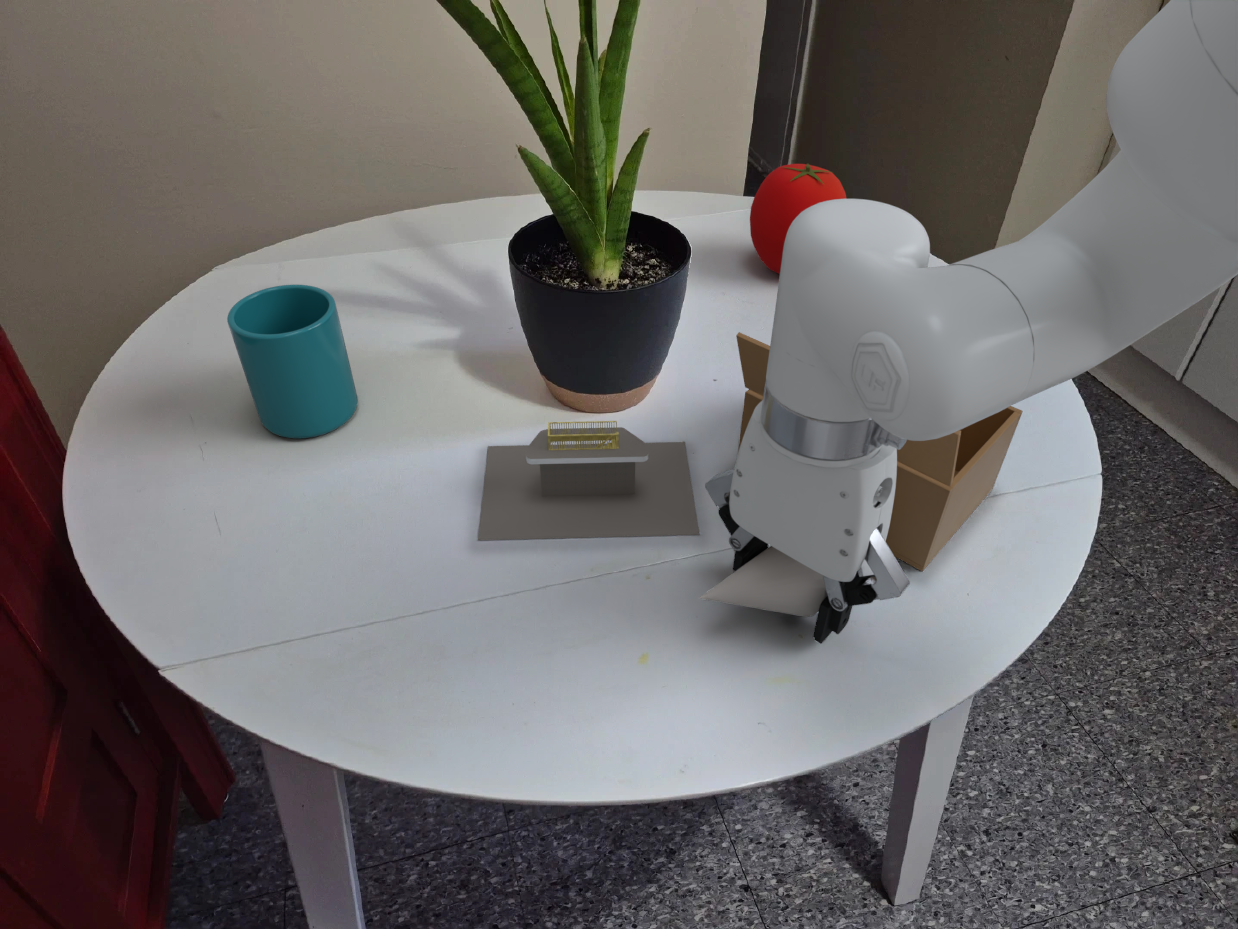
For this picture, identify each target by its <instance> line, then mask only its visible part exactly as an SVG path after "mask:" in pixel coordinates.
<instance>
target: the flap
mask: <svg viewBox="0 0 1238 929" xmlns="http://www.w3.org/2000/svg"><path fill="white" fill-rule="evenodd" d="M735 338H736V342H737V347H738V354H739V360H740V366H741V372H742V378H743V384H744V388H745V389H747V390H749V389H750V390H752V391H754V392H756V393H758V394H760V395H762V396H764V389H765V381H766V373H767V366H768V358H769V351H770V345H769V344H766V343H764V342H763V341H760V340H759V339H756V338H754V337H751V336H750V335H746V334H744V333H742V332H740V331H739V332H737V334H736V336H735ZM960 436H961V431H960V430H959V431H956V432H954V433H952V434H950V435H947V436H944V437H941V438H938V439H932V440H926V441H912V440H907V441H906V443H905V445H904V446H903V447H902V448H901V449H900V450H898V449H897V461H899V462H901V463H903V464H905V465H907V466H909V467H911V468H914V469H916V470H918V471H920V472H922V473H924V474H926V475H928V476H930V477H932V478H934V479H936V480H938V481H941V482H943V483H945V484H947V485H949V486H951V484H952V483H953V478H954V472H955V466H956V460H957V454H958V448H959V442H960Z"/></svg>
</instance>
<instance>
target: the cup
mask: <svg viewBox="0 0 1238 929" xmlns="http://www.w3.org/2000/svg"><path fill="white" fill-rule="evenodd" d="M226 319H227V325H228V328H229V331H230V334H231V337H232V340H233V344H234V346H235V350H236V352H237V355H238V358H239V362H240V365H241V368H242V371H243V373H244V377H245V379H246V383H247V386H248V389H249V391H250V394H251V398H252V401H253V404H254V407H255V410H256V412H257V415H258V419H259V421H260V423H261V424H262V426H263V427H264V428H265V429H266V430H267V431H268V432H270V433H272V434H274V435H277V436H278V437H282V438H288V439H310V438H311V439H312V438H315V437H319V436H323V435H326V434H329V433H331V432H333V431H335V430H337V429H339V428H341V427H342V426H343V425H345V424H346V423H348V421H349V420H350V419H351V418H352V417H353V415H354V414H355V412H356V410H357V407H358V403H359V401H358V400H359V399H358V394H357V393H358V392H357V389H356V384H355V381H354V375H353V371H352V368H351V367H352V366H351V363H350V360H349V354H348V351H347V346H346V342H345V338H344V337H345V336H344V333H343V329H342V325H341V321H340V317H339V312H338V308H337V303H336V301H335V298H334V297H333V296H332V295H331V293H329V292H328V291H326V290H325V289H323V288H320V287H318V286H315V285H314V286H313V285H307V284H282V285H276V286H271V287H266V288H264V289H260V290H257V291H255V292H252V293H250V294H247V295H246V296H245V297H243V298H241V299H239V301H237V302H236V303H235V304H234V305H233V306H232V307H231V308H230V310H229V312H228V313H227V318H226Z"/></svg>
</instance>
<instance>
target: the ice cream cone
mask: <svg viewBox="0 0 1238 929" xmlns="http://www.w3.org/2000/svg"><path fill="white" fill-rule="evenodd" d="M861 567H862V571H863V575H864V576H868V575H874V573H873V572H872V570H871V569H870V567H869V565H868V564H867V562H866V560H865V559H864V561H863V563H862V565H861ZM827 596H828V595H827V591H826V587H825V583H824V579H823V575H822V574H820V573H818V572H816V571H814V570H812V569H811V568H809V567H807V566H805V565H803V564H802V563H800V562H798V561H797V560H795V559H793V558H791V557H790V556H788V555H786V554H784V553H783V552H781V551H779V550H777V549H776V548H774V547H772V546H771V545H769V546H768V548H767V549H766V550H764V551H763V552H761V553H760V554H759V555H757V556H756V557H755V558H753V559H752V560H750V561H749V562H748V563H746V564H745V565H743V566H742V567H741V568H739V569H738V570H737V571H734V572H732V573H731V574H729V575H728V576H727V577H725V578H724V579H722V580H721V581H720V582H718V583H717V584H716V585H715V586H713V587H712V588H710V589H708V590H707V591H706V592H704V593H703V594H701V596H699V597H698V599H702V600H705V601H712V602H718V603H724V604H729V605H736V606H740V607H746V608H752V609H757V610H758V609H759V610H764V611H769V612H774V613H775V612H776V613H781V614H786V615H793V616H798V617H803V618H809V617H812V616H815V615H816V614H818V611H819V607H820V604H821V602H822V601H823V600H824V599H825V598H826V597H827Z"/></svg>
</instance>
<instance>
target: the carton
mask: <svg viewBox="0 0 1238 929" xmlns="http://www.w3.org/2000/svg"><path fill="white" fill-rule="evenodd" d="M762 400H763V396H762V395H760V394H758V393H756V392H754V391H752V390H750V389H747V390H746V391H745V393H744V400H743V409H742V414H741V415H742V416H741V423H740V430H739V440H738V448H737V453H738V452H739V448H740V445H741V442H742V439H743V436H744V434H745V431H746V428H747V426H748V423H749V421H750V418H751V416H752V414H753V412H754V409H755V408H756V406H757V405H758V404H759V403H760V402H761V401H762ZM1022 415H1023V410H1022V409H1019V408H1017V407H1015V406H1013V405H1011V406H1009V407H1008V408H1006V409H1004V410H1002V411H1000V412H998V413H996V414H994V415H991V416H989V417H987V418H985V419H982V420H980V421H978V422H976V423H974V424H972V425H969V426H967V427H965V428H963V429H961V430H960V431H961V436H960V442H959V448H958V454H957V460H956V466H955V472H954V478H953V483H952V484H951V486H949V485H947V484H945V483H943V482H941V481H938V480H936V479H934V478H932V477H930V476H928V475H926V474H924V473H922V472H920V471H918V470H916V469H914V468H911V467H909V466H907V465H905V464H903V463H901V462H899V461H897V476H896V488H895V496H894V503H893V509H892V515H891V520H890V526H889V530H888V534H887V538H886V541H885V542H886V543H887V545H888V546H889V548H890V550H891V551H892V553H893V555H894V556H895V558H896V559H897V560H898V559H899V561H902V562H904V563H905V564H907V565H910V566H911V567H913V568H915V569H917V570H919V571H920V572H923V571H924V570H925V569H926V568H927V567H928V565H929V564H931V563H932V561H933V560H934V558H936V556H937V555H938V554H939V553H940V552H941V550H943V548H944V547H945V546H946V544H948V543H949V541H950V540H951V539H952V538H953V536H954V535H955V534H956V533H957V532H958V530H959V529H960V528H961V527H962V526H963V525H964V523H965V522H966V521H967V520H968V519H969V518H970V517H971V515H973V513H974V512H975V511H976V510H977V508H978V507H979V506H980V505H981V503H982V502H983V501H984V500H985V499H986V497H988V495H989V494H990V493H991V492H992V491H993V489H994V487H995V484H996V481H997V479H998V476H999V474H1000V472H1001V468H1002V466H1003V464H1004V461H1005V459H1006V456H1007V453H1008V451H1009V448H1010V446H1011V443H1012V440H1013V437H1014V435H1015V434H1016V433H1015V432H1016V430H1017V428H1018V426H1019V422H1020V420H1021V418H1022ZM737 456H738V454H737ZM737 456H736V457H737Z"/></svg>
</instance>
